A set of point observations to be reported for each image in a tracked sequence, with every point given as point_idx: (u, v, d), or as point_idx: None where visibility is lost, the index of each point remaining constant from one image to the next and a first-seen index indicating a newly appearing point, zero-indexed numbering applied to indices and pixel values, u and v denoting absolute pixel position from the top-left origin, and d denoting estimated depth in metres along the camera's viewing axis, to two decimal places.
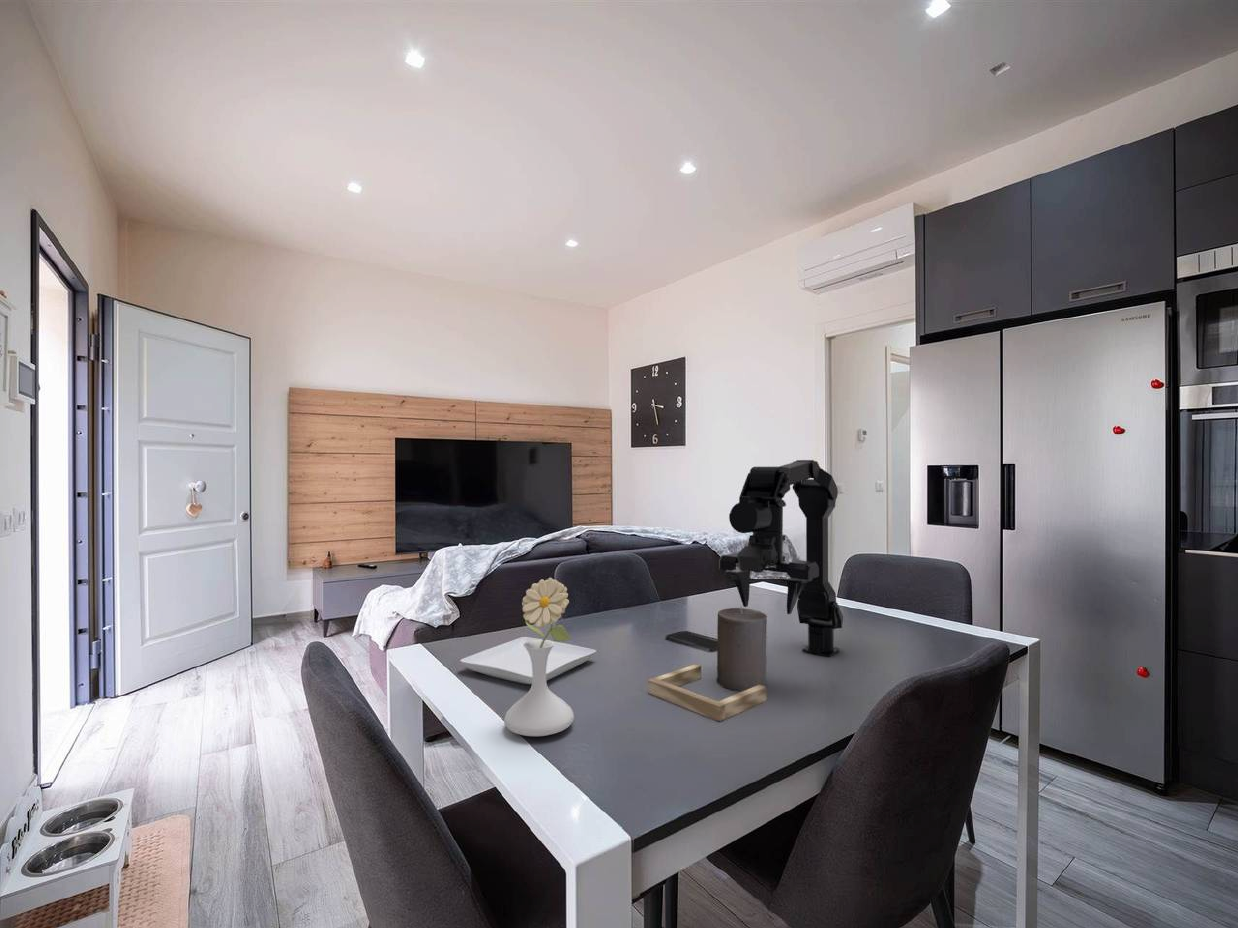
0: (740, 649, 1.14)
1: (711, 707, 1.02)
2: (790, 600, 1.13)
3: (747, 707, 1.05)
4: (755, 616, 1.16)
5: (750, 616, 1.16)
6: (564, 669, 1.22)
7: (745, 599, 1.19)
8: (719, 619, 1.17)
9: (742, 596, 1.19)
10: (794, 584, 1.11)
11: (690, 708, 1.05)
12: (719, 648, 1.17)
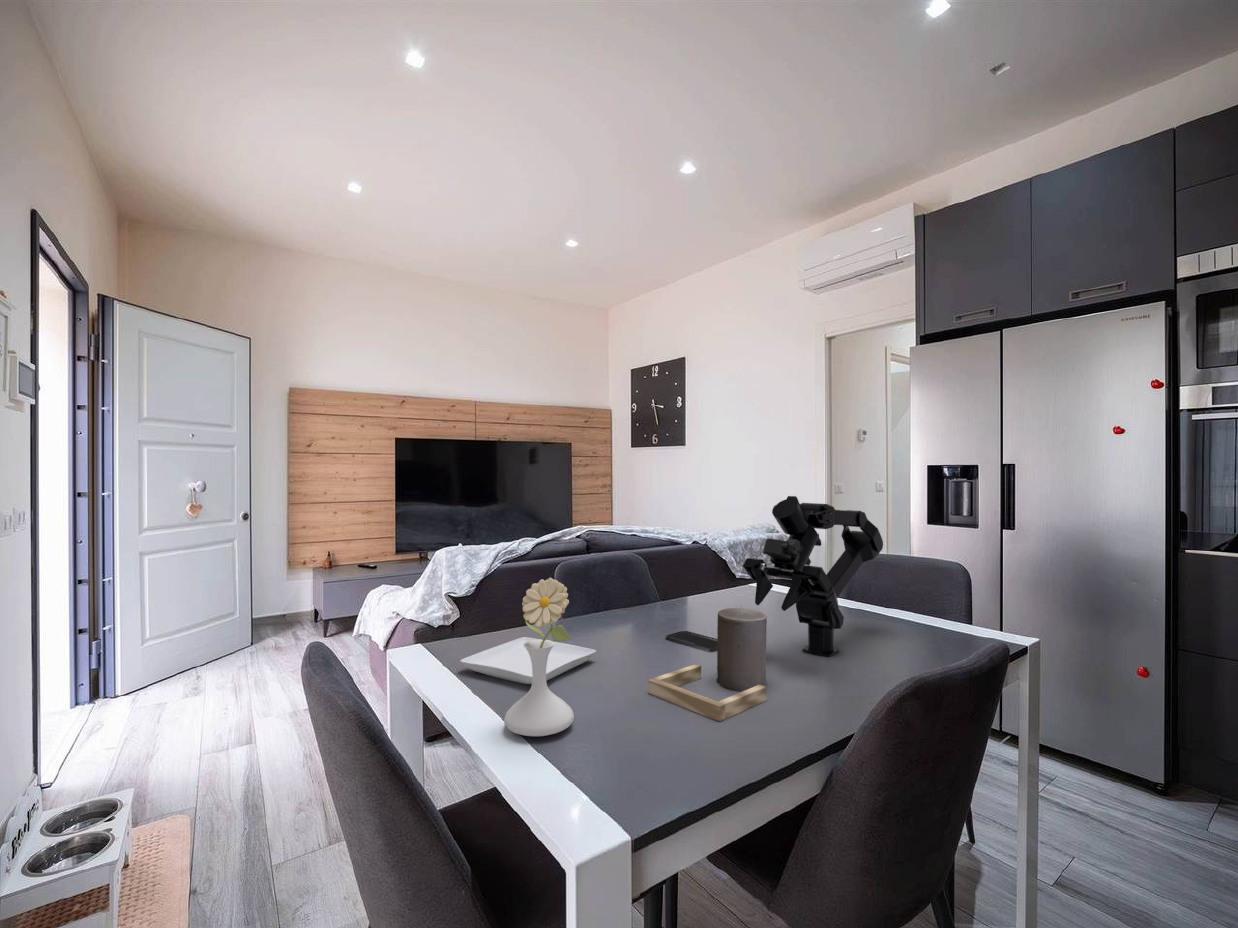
0: (740, 649, 1.14)
1: (711, 707, 1.02)
2: (789, 595, 1.23)
3: (747, 707, 1.05)
4: (755, 616, 1.16)
5: (750, 616, 1.16)
6: (564, 669, 1.22)
7: (759, 597, 1.27)
8: (719, 619, 1.17)
9: (757, 593, 1.28)
10: (798, 579, 1.23)
11: (690, 708, 1.05)
12: (719, 648, 1.17)
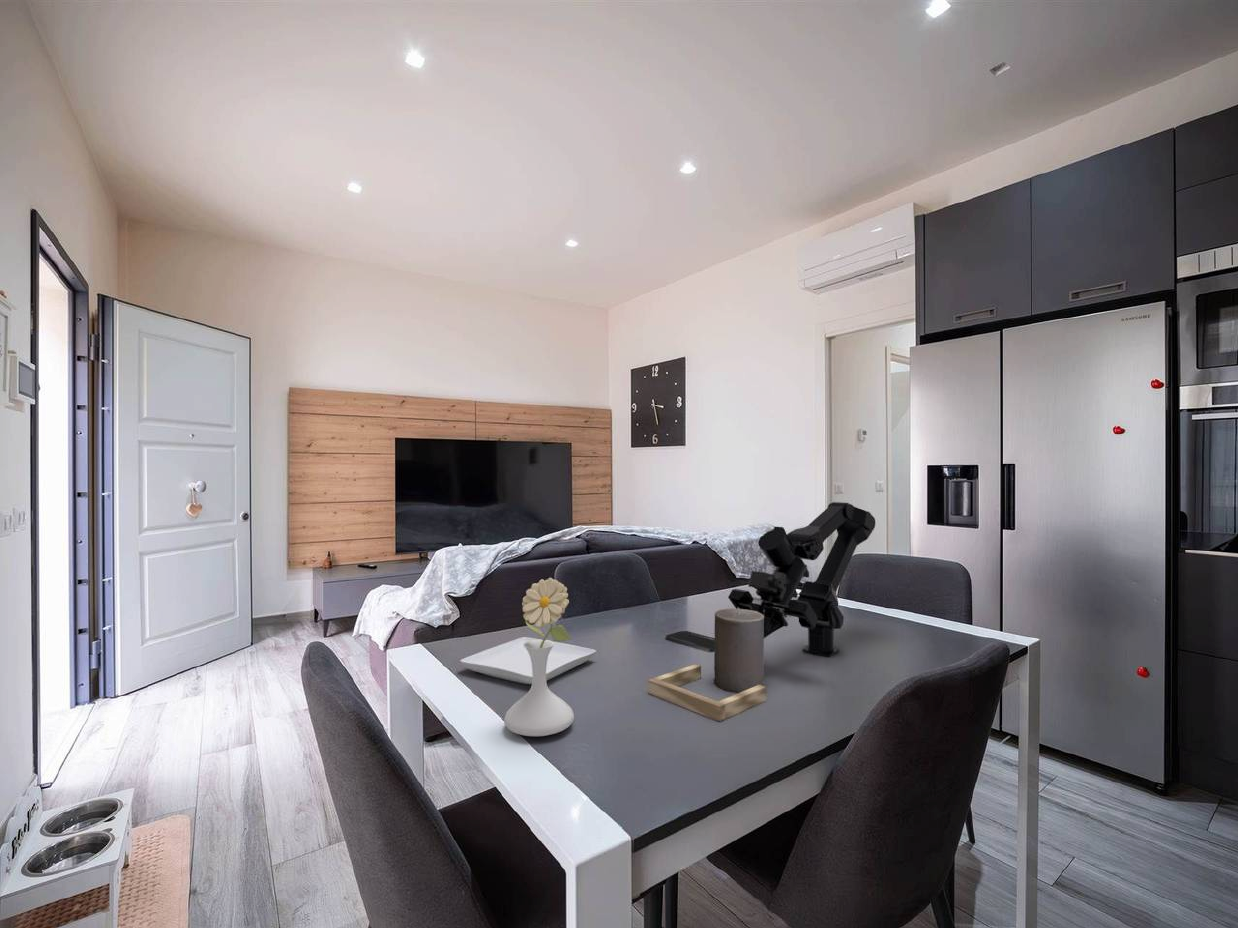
0: (737, 650, 1.13)
1: (711, 707, 1.02)
2: None
3: (747, 707, 1.05)
4: (752, 617, 1.16)
5: (747, 617, 1.16)
6: (564, 669, 1.22)
7: None
8: (716, 620, 1.17)
9: None
10: (771, 612, 1.21)
11: (690, 708, 1.05)
12: (716, 649, 1.17)
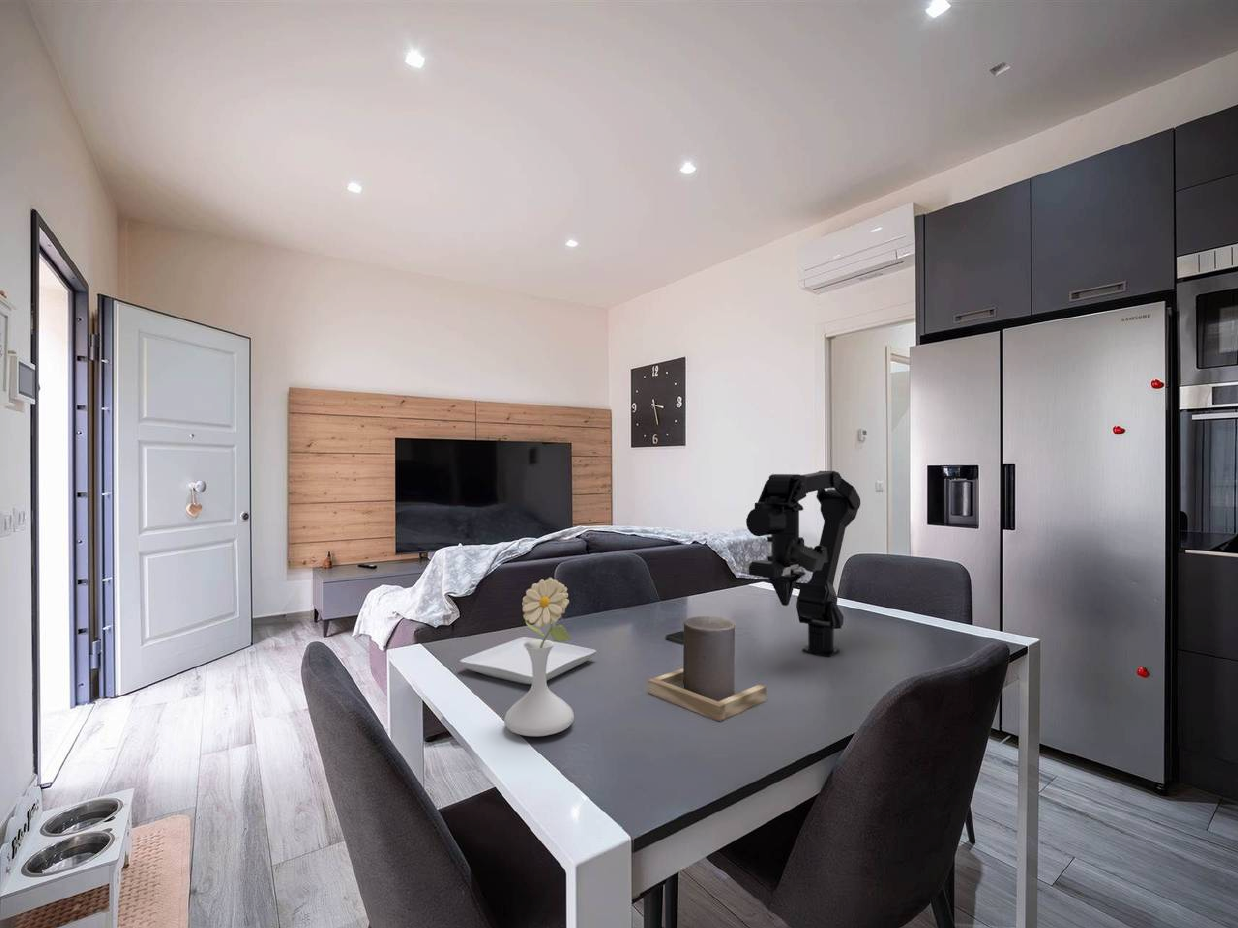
0: (706, 660, 1.07)
1: (711, 707, 1.02)
2: (791, 592, 1.28)
3: (747, 707, 1.05)
4: (723, 625, 1.10)
5: (717, 625, 1.09)
6: (564, 669, 1.22)
7: None
8: (685, 628, 1.11)
9: (787, 596, 1.27)
10: None
11: (690, 708, 1.05)
12: (685, 659, 1.11)
